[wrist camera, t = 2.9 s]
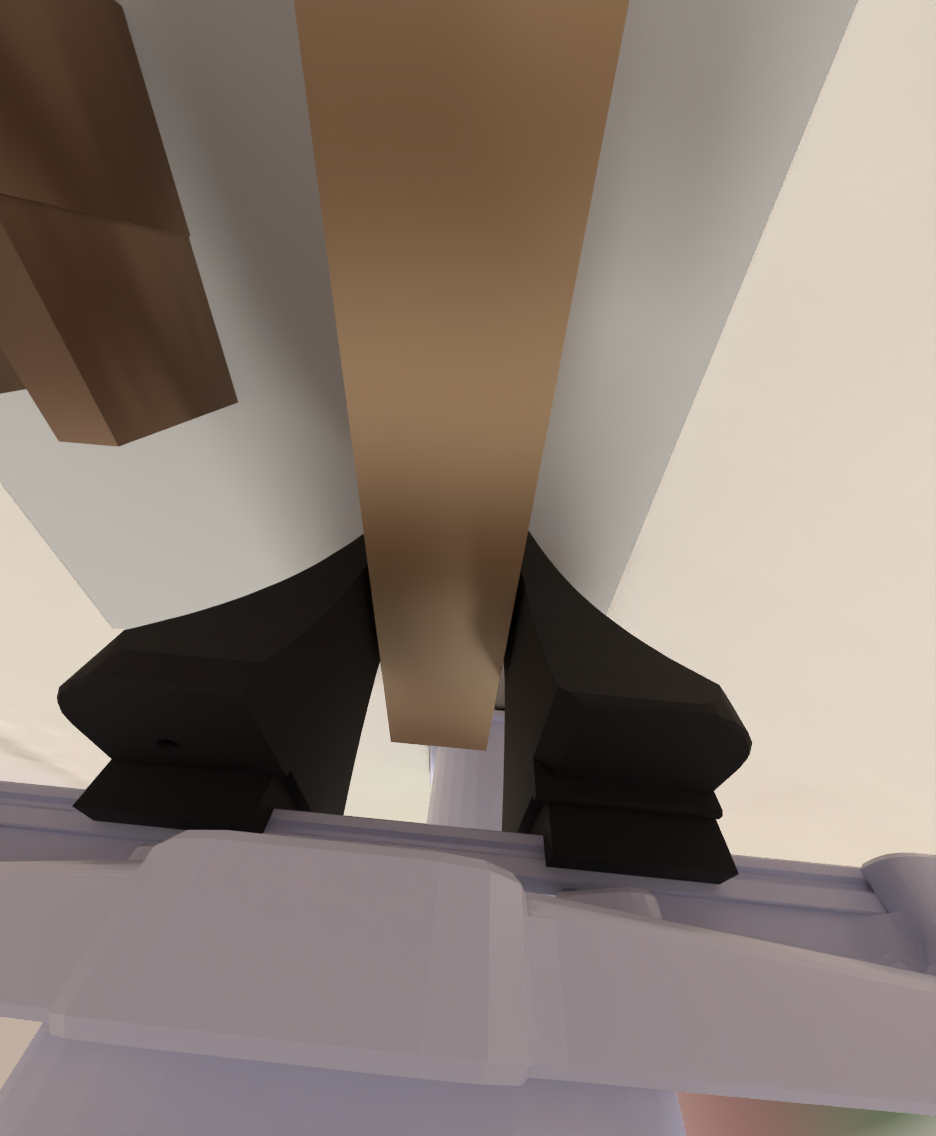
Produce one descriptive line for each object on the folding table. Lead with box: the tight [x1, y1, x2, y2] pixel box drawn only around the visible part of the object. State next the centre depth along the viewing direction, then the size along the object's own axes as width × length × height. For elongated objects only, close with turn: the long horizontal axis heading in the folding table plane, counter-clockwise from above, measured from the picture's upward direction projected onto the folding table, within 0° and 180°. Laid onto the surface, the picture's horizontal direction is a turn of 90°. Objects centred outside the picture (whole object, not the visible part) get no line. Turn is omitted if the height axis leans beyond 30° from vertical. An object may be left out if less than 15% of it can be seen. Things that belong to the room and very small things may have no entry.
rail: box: [294, 0, 629, 751], centre depth 9 cm, size 14×3×5 cm, turn 176°
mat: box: [0, 0, 858, 665], centre depth 11 cm, size 18×22×1 cm
